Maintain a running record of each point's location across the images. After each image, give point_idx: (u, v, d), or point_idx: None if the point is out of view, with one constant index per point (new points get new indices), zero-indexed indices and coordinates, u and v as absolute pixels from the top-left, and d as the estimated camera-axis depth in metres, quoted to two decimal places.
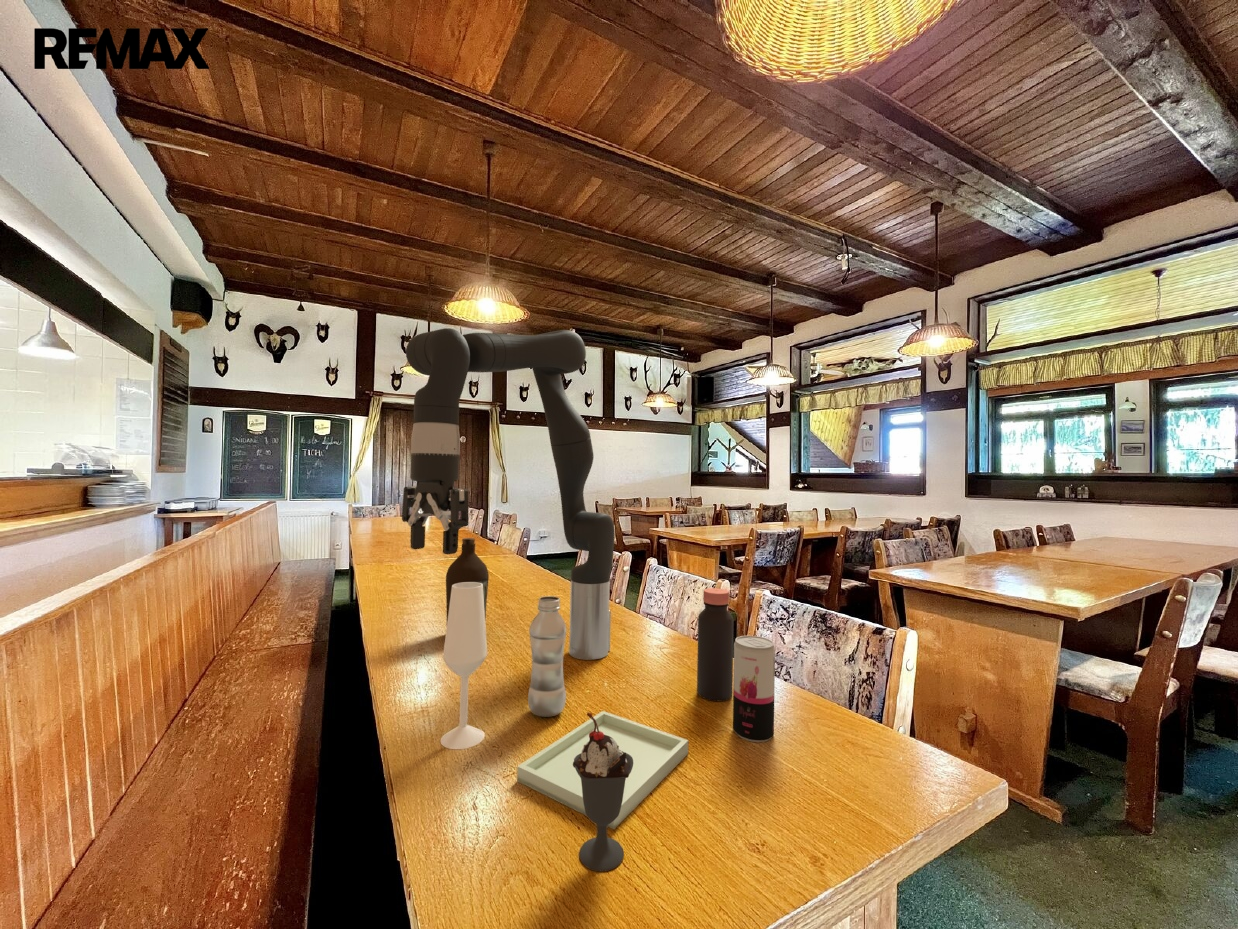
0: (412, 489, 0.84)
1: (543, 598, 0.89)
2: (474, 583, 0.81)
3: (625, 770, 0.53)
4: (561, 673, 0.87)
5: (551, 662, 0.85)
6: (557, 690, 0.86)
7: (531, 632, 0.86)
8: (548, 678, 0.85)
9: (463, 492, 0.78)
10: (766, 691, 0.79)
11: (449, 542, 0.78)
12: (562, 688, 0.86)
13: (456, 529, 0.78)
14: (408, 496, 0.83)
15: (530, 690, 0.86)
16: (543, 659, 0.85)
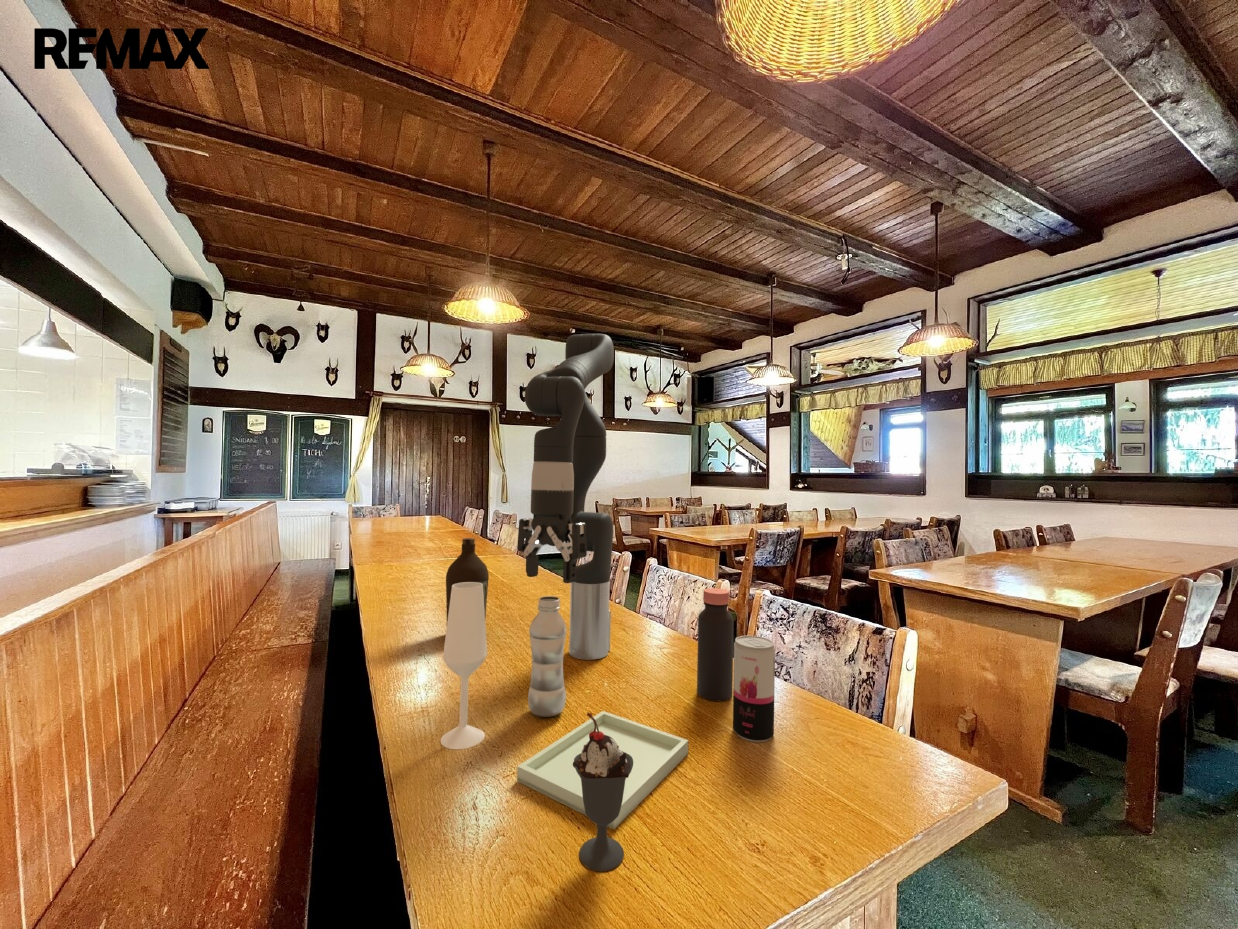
0: (527, 521, 0.91)
1: (543, 598, 0.89)
2: (474, 583, 0.81)
3: (625, 770, 0.53)
4: (561, 673, 0.87)
5: (551, 662, 0.85)
6: (557, 690, 0.86)
7: (531, 632, 0.86)
8: (548, 678, 0.85)
9: (582, 526, 0.85)
10: (766, 691, 0.79)
11: (569, 572, 0.85)
12: (562, 688, 0.86)
13: (575, 560, 0.85)
14: (524, 528, 0.90)
15: (530, 690, 0.86)
16: (543, 659, 0.85)
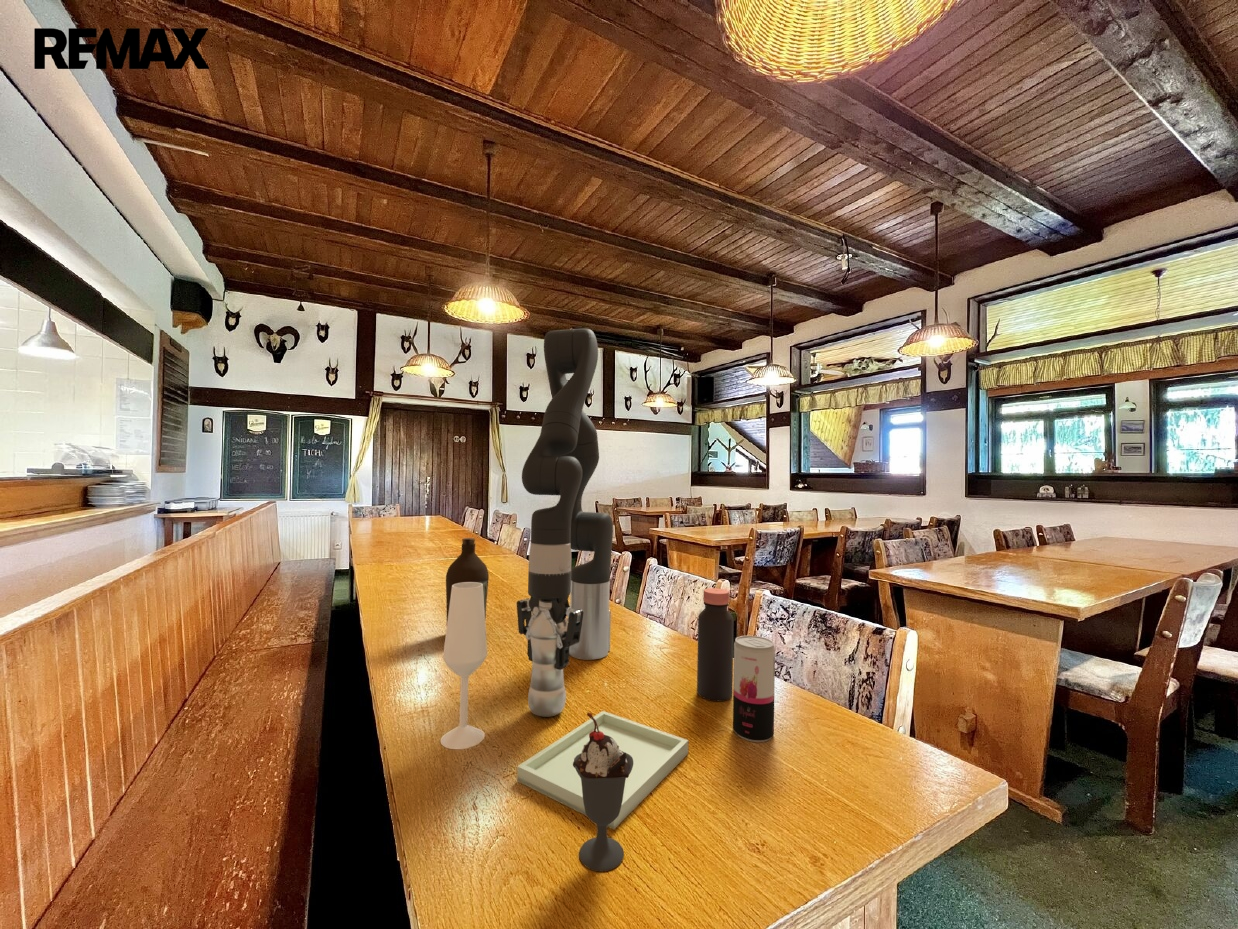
0: (524, 602, 0.90)
1: None
2: (474, 583, 0.81)
3: (625, 770, 0.53)
4: (561, 673, 0.87)
5: (551, 662, 0.85)
6: (557, 690, 0.86)
7: (531, 632, 0.86)
8: (548, 678, 0.85)
9: (580, 615, 0.84)
10: (766, 691, 0.79)
11: (562, 659, 0.85)
12: (562, 688, 0.86)
13: (568, 646, 0.85)
14: (522, 609, 0.90)
15: (530, 690, 0.86)
16: (543, 659, 0.85)
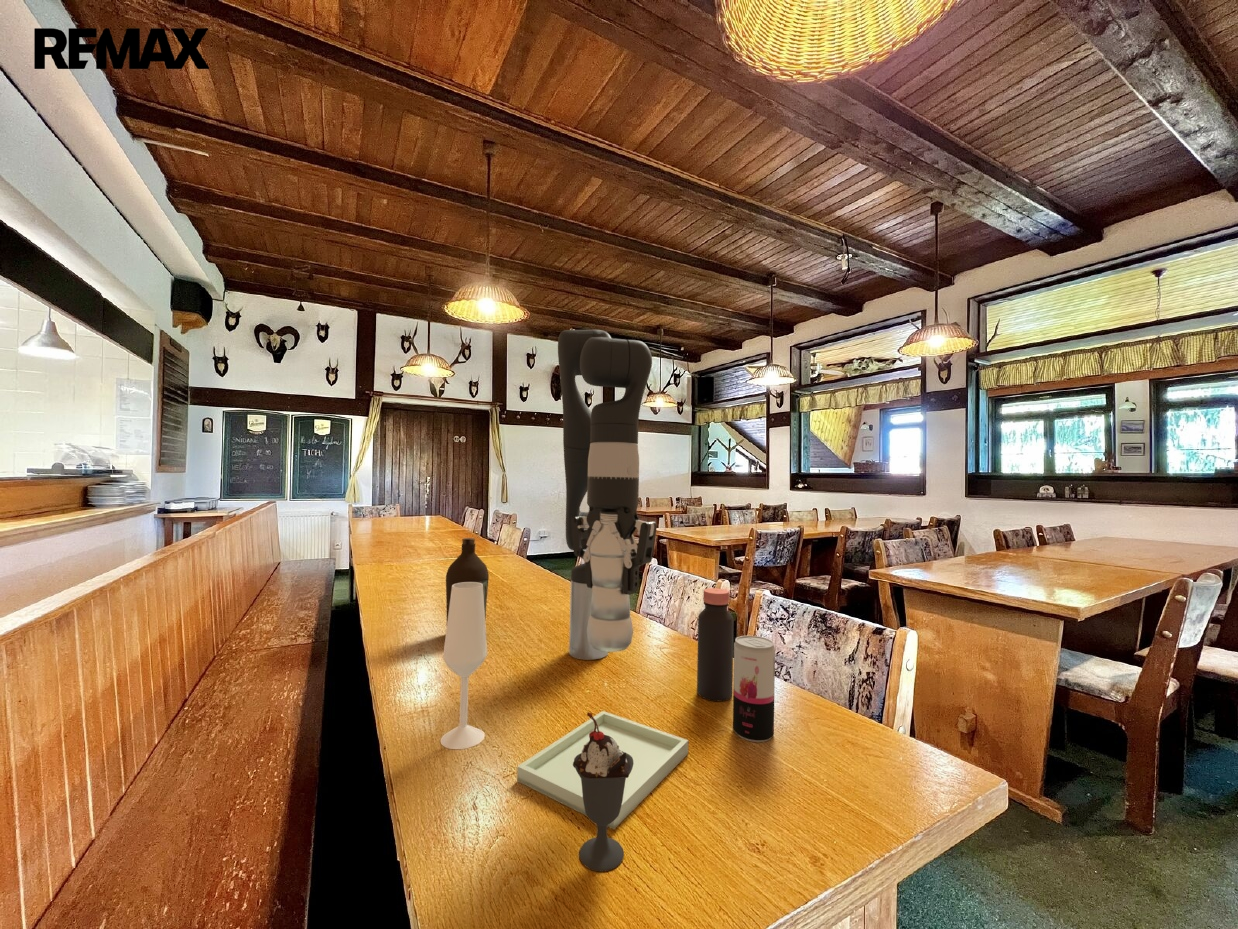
0: (580, 519, 0.75)
1: None
2: (474, 583, 0.81)
3: (625, 770, 0.53)
4: (628, 600, 0.71)
5: (617, 586, 0.70)
6: (624, 620, 0.70)
7: (592, 550, 0.70)
8: (613, 605, 0.70)
9: (653, 527, 0.69)
10: (766, 691, 0.79)
11: (631, 581, 0.69)
12: (629, 619, 0.71)
13: (638, 566, 0.70)
14: (579, 527, 0.74)
15: (591, 621, 0.71)
16: (608, 582, 0.70)
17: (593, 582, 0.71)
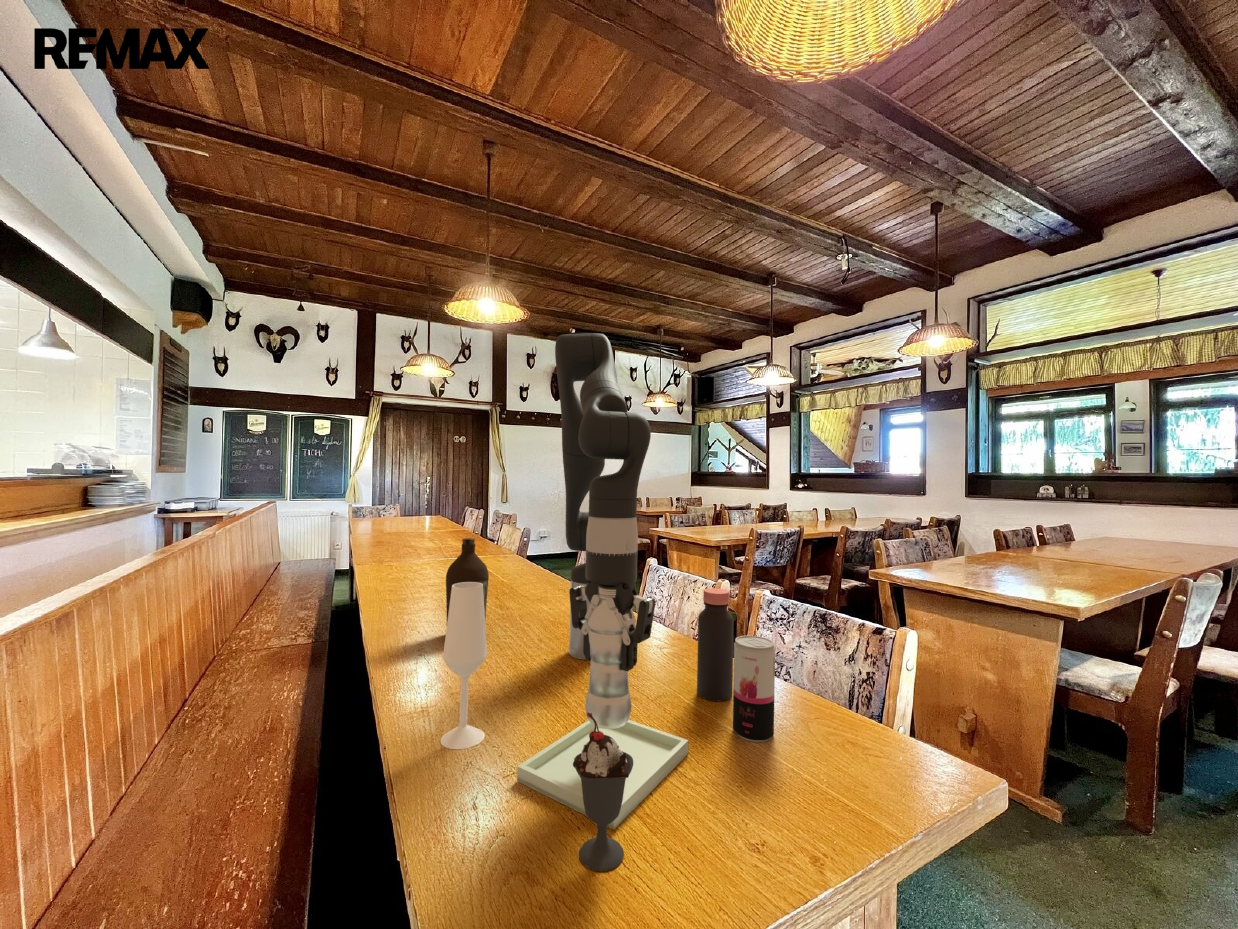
0: (579, 589, 0.75)
1: None
2: (474, 583, 0.81)
3: (625, 770, 0.53)
4: (626, 675, 0.71)
5: (616, 662, 0.69)
6: (623, 696, 0.70)
7: (590, 625, 0.70)
8: (611, 681, 0.69)
9: (652, 604, 0.69)
10: (766, 691, 0.79)
11: (630, 658, 0.69)
12: (628, 694, 0.71)
13: (636, 642, 0.70)
14: (577, 598, 0.74)
15: (589, 696, 0.70)
16: (606, 659, 0.69)
17: (591, 657, 0.71)
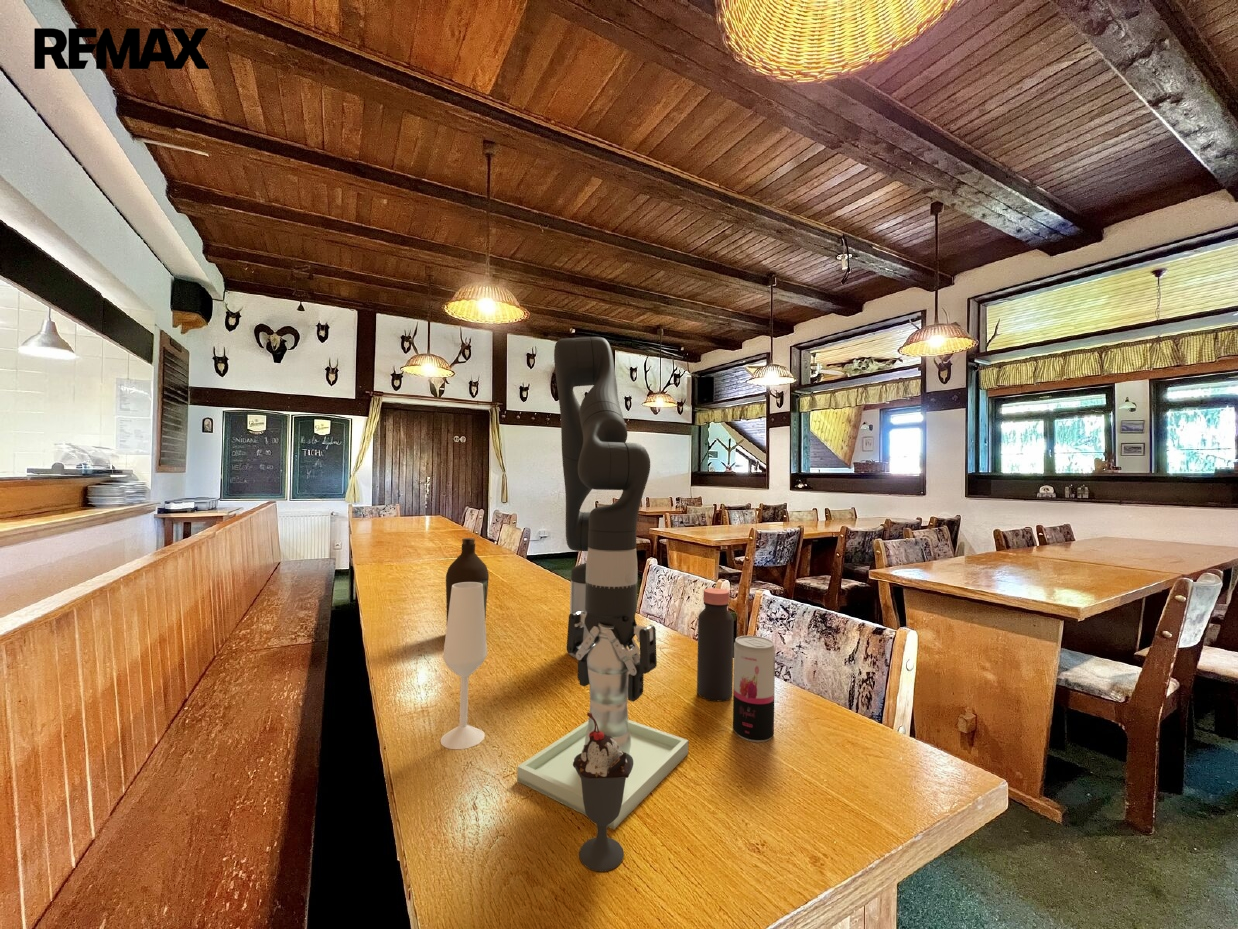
0: (578, 616, 0.75)
1: None
2: (474, 583, 0.81)
3: (625, 770, 0.53)
4: (626, 714, 0.71)
5: (615, 701, 0.69)
6: (622, 735, 0.70)
7: (590, 664, 0.70)
8: (611, 721, 0.69)
9: (652, 631, 0.68)
10: (766, 691, 0.79)
11: (636, 688, 0.68)
12: (627, 732, 0.71)
13: (643, 672, 0.69)
14: (575, 625, 0.74)
15: (588, 735, 0.70)
16: (606, 698, 0.69)
17: (591, 696, 0.71)
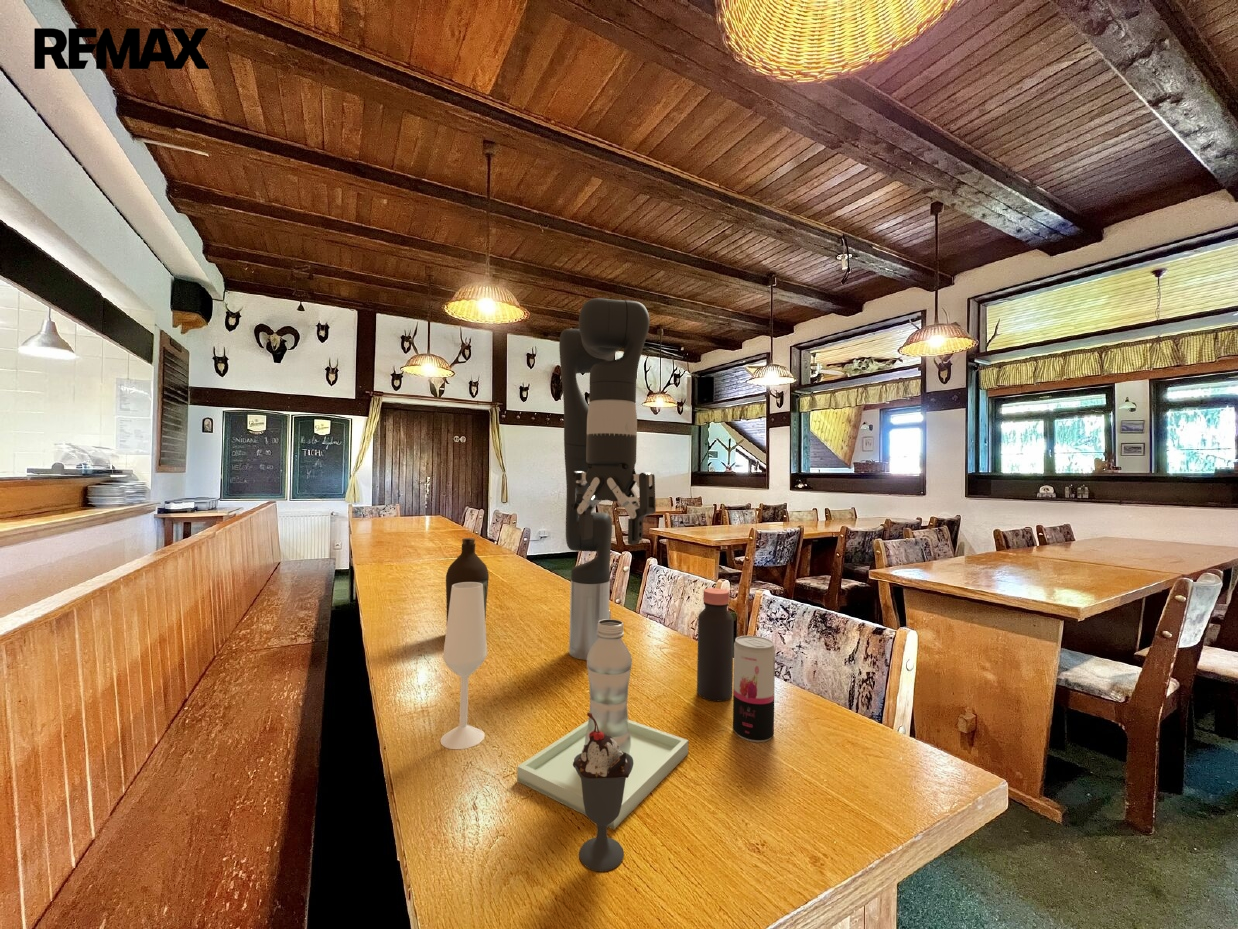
0: (579, 474, 0.77)
1: (602, 622, 0.73)
2: (474, 583, 0.81)
3: (625, 770, 0.53)
4: (626, 714, 0.71)
5: (615, 701, 0.69)
6: (622, 735, 0.70)
7: (590, 664, 0.70)
8: (611, 721, 0.69)
9: (651, 476, 0.71)
10: (766, 691, 0.79)
11: (635, 531, 0.71)
12: (627, 732, 0.71)
13: (642, 517, 0.71)
14: (577, 481, 0.76)
15: (588, 735, 0.70)
16: (606, 698, 0.69)
17: (591, 696, 0.71)
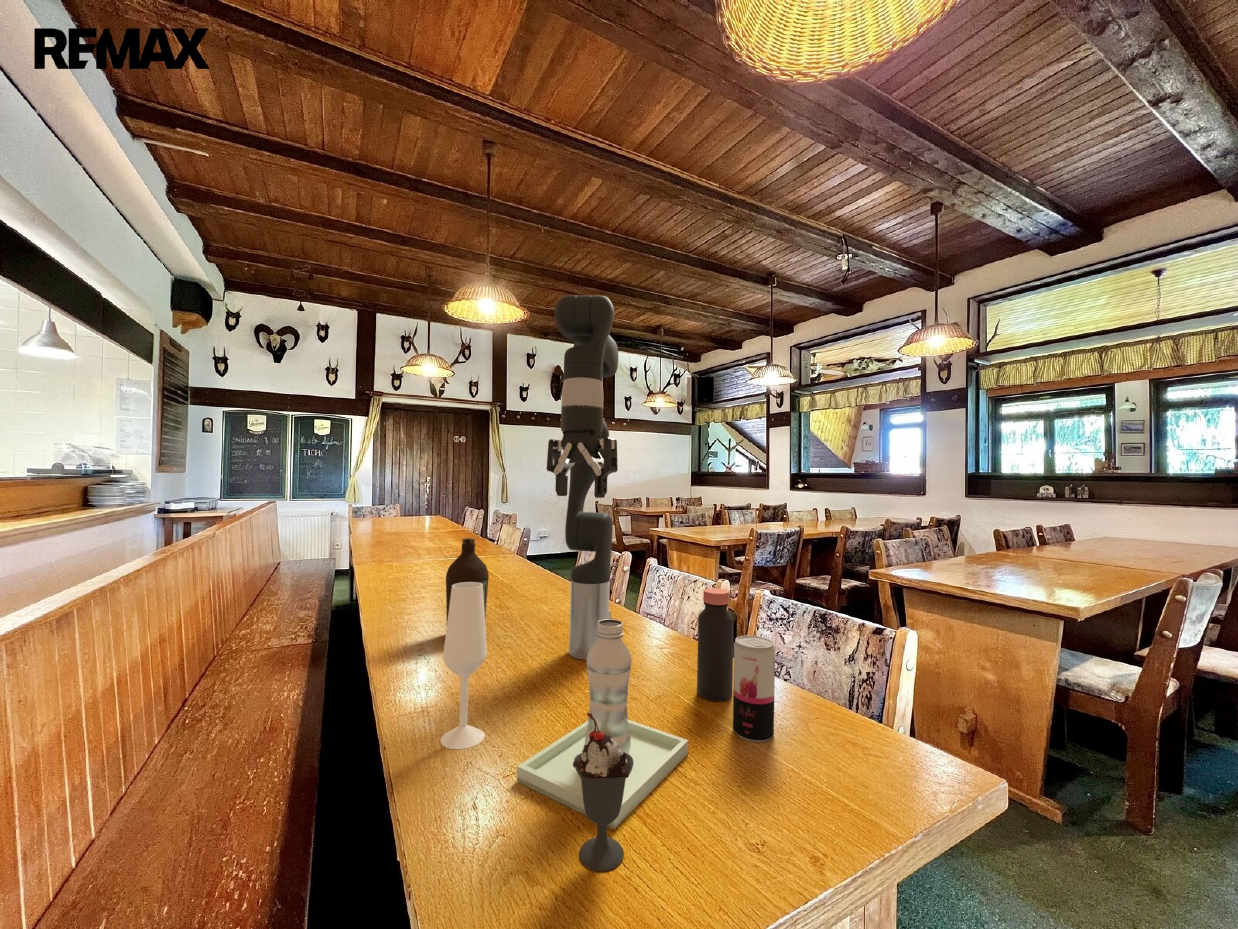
0: (556, 441, 0.92)
1: (602, 622, 0.73)
2: (474, 583, 0.81)
3: (625, 770, 0.53)
4: (626, 714, 0.71)
5: (615, 702, 0.69)
6: (622, 735, 0.70)
7: (590, 664, 0.70)
8: (611, 721, 0.69)
9: (614, 441, 0.85)
10: (766, 691, 0.79)
11: (600, 486, 0.85)
12: (627, 733, 0.71)
13: (606, 475, 0.86)
14: (554, 447, 0.91)
15: (588, 735, 0.70)
16: (606, 698, 0.69)
17: (591, 696, 0.71)
